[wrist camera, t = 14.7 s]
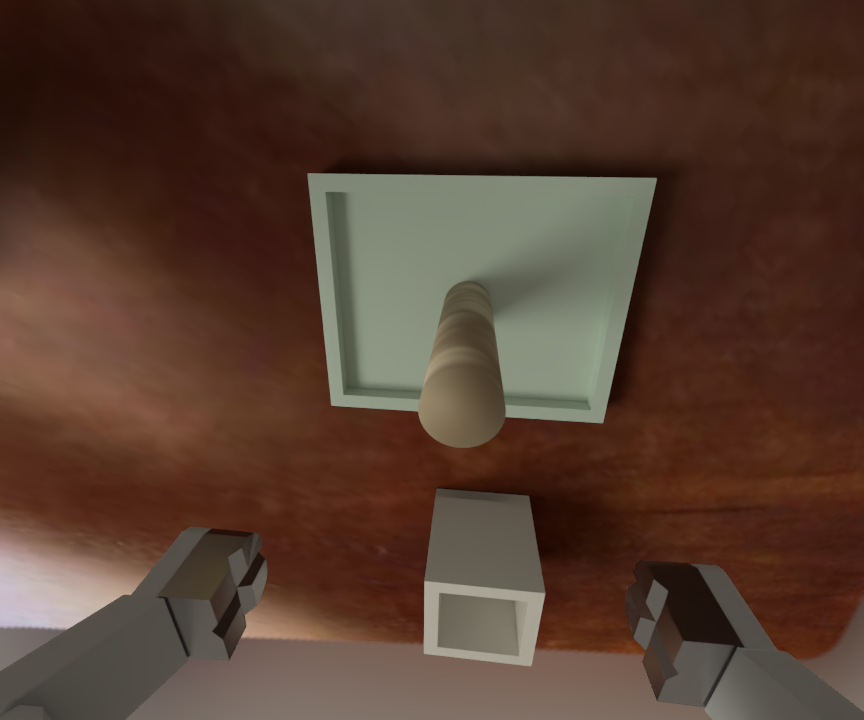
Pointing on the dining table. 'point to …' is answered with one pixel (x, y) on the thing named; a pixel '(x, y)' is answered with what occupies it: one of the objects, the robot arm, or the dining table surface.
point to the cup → (482, 578)
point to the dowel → (464, 372)
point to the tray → (478, 281)
